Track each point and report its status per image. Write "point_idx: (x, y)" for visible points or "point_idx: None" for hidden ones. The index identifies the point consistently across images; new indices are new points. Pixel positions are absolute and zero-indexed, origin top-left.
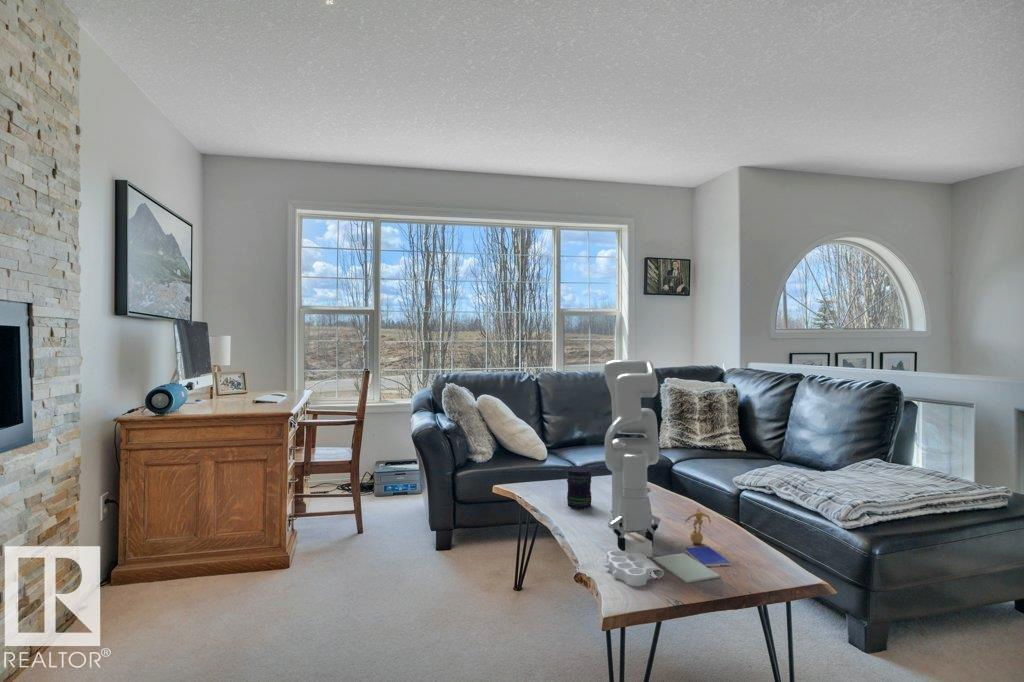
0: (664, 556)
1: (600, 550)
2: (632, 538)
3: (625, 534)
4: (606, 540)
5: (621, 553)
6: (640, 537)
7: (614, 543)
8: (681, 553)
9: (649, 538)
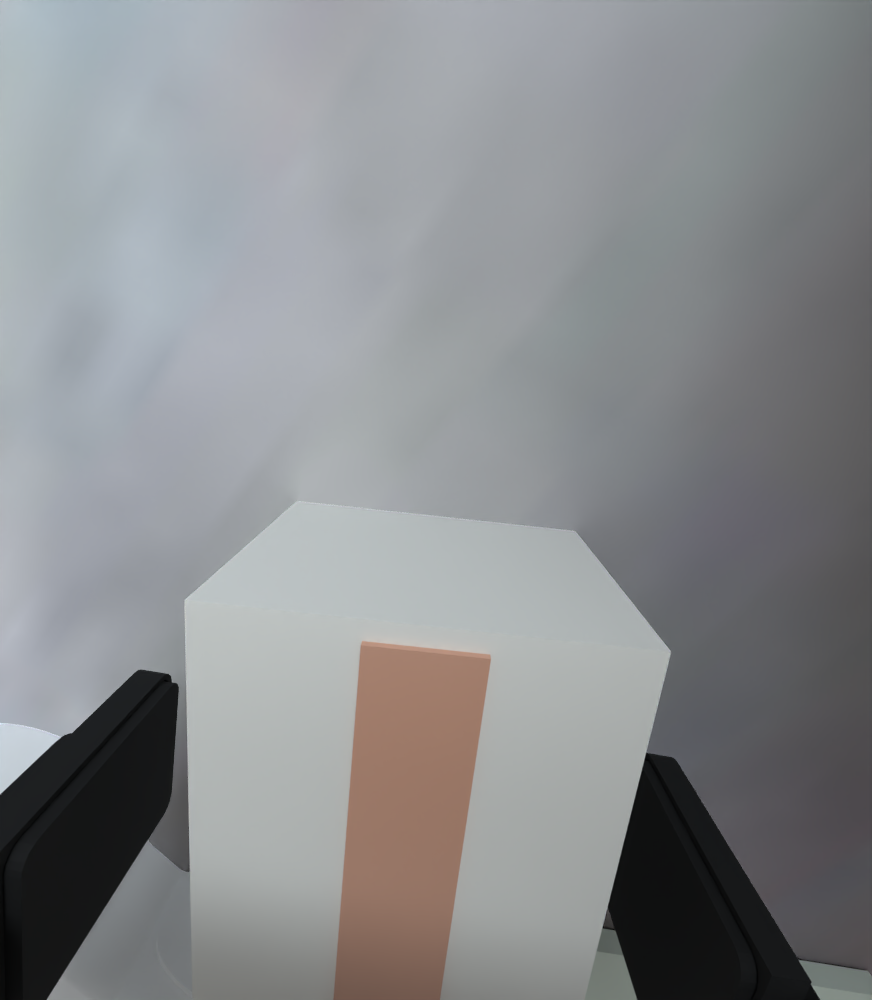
0: (611, 967)
1: (13, 386)
2: (324, 899)
3: (339, 662)
4: (345, 23)
5: None
6: (514, 932)
7: (386, 243)
8: (853, 992)
9: (656, 994)
